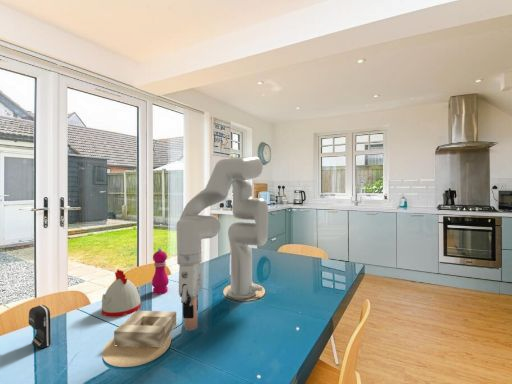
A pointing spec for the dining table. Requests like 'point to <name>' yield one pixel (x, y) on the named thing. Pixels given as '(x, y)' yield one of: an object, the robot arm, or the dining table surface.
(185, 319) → the peg
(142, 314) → the socket block
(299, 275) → the dining table surface
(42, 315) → the black coffee maker
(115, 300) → the white dome
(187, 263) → the robot arm
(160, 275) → the pepper mill
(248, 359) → the dining table surface
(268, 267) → the dining table surface
